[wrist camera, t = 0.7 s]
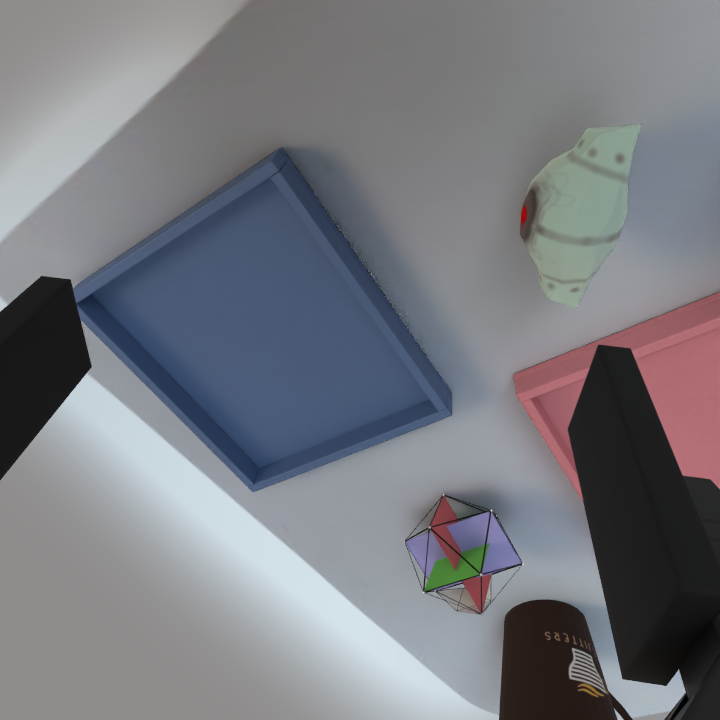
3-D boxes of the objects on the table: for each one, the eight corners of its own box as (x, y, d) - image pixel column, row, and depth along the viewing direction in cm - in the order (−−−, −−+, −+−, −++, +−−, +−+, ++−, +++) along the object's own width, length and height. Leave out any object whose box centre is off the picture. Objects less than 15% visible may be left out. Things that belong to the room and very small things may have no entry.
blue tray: (78, 283, 36) (60, 300, 34) (281, 146, 30) (271, 159, 28) (260, 471, 43) (252, 492, 42) (452, 393, 37) (452, 415, 35)
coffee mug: (470, 608, 50) (473, 742, 42) (571, 579, 46) (595, 720, 38) (538, 676, 55) (553, 808, 47) (634, 655, 51) (668, 795, 43)
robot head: (575, 262, 31) (601, 336, 26) (495, 251, 31) (503, 322, 26) (630, 95, 26) (676, 143, 21) (535, 84, 27) (556, 128, 21)
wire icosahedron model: (375, 509, 41) (409, 637, 38) (464, 474, 38) (510, 609, 35) (425, 509, 47) (459, 619, 44) (506, 479, 44) (549, 595, 40)
